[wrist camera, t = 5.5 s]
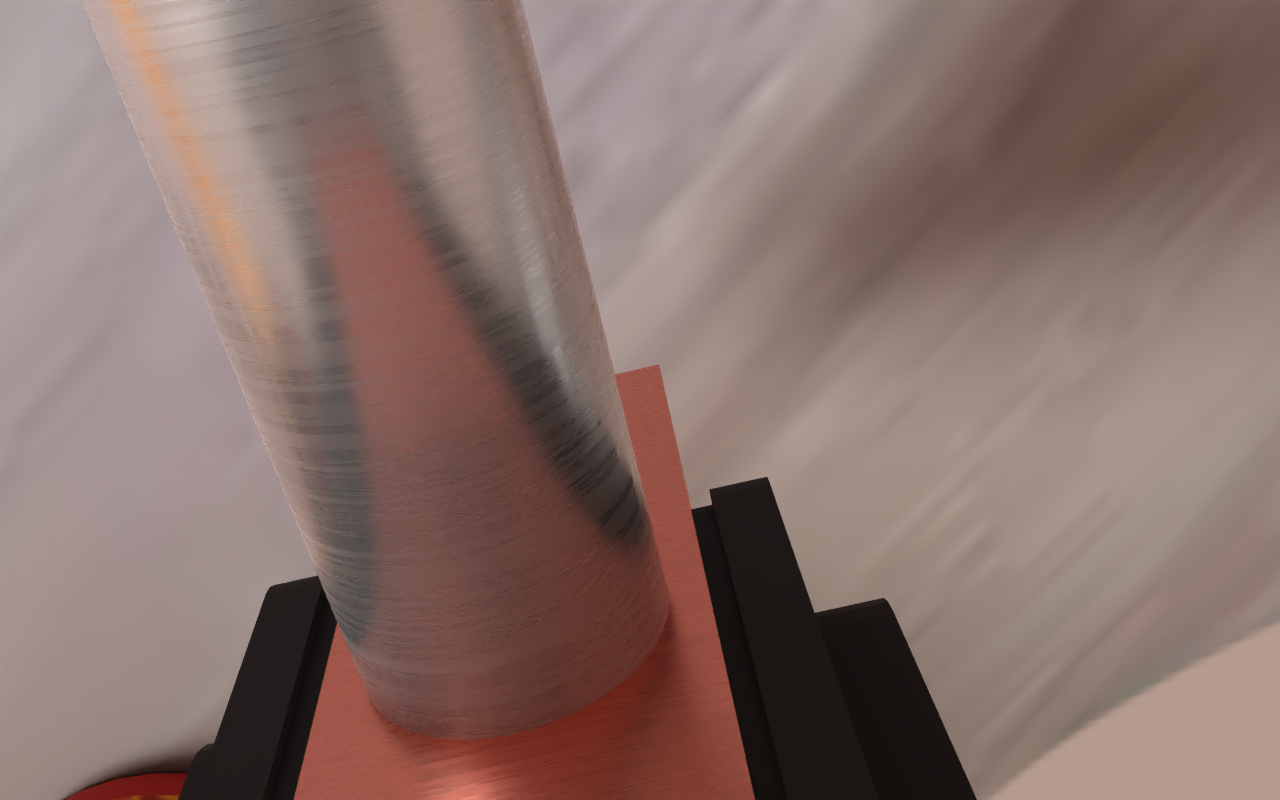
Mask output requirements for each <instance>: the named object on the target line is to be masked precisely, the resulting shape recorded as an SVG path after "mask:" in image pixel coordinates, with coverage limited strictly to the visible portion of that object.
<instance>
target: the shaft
mask: <svg viewBox="0 0 1280 800" xmlns="http://www.w3.org/2000/svg"><path fill="white" fill-rule="evenodd" d="M81 2H82V4H83V6H84V9H85V11H86V14H87V16H88V19H89V21H90V23H91V26H92V28H93V31H94V33H95V36H96V38H97V40H98V43H99V45H100V48H101V50H102V53H103V55H104V57H105V60H106V62H107V65H108V67H109V70H110V72H111V74H112V77H113V79H114V82H115V84H116V86H117V89H118V91H119V94H120V96H121V99H122V101H123V103H124V106H125V108H126V111H127V113H128V116H129V118H130V120H131V123H132V125H133V128H134V130H135V133H136V135H137V137H138V140H139V142H140V145H141V147H142V150H143V152H144V154H145V157H146V159H147V162H148V164H149V167H150V169H151V171H152V174H153V176H154V179H155V181H156V184H157V186H158V188H159V191H160V193H161V196H162V198H163V201H164V203H165V205H166V208H167V210H168V213H169V215H170V218H171V220H172V222H173V225H174V227H175V230H176V232H177V235H178V237H179V239H180V242H181V244H182V247H183V249H184V252H185V254H186V256H187V259H188V261H189V264H190V266H191V269H192V271H193V273H194V276H195V278H196V281H197V283H198V286H199V288H200V290H201V293H202V295H203V298H204V300H205V302H206V305H207V307H208V310H209V312H210V315H211V317H212V319H213V322H214V324H215V327H216V329H217V332H218V334H219V336H220V339H221V341H222V344H223V346H224V349H225V351H226V353H227V356H228V358H229V361H230V363H231V366H232V368H233V370H234V373H235V375H236V378H237V380H238V383H239V385H240V387H241V390H242V392H243V395H244V397H245V400H246V402H247V404H248V407H249V409H250V412H251V414H252V417H253V419H254V421H255V424H256V426H257V429H258V431H259V434H260V436H261V438H262V441H263V443H264V446H265V448H266V451H267V453H268V455H269V458H270V460H271V463H272V465H273V468H274V470H275V472H276V475H277V477H278V480H279V482H280V485H281V487H282V489H283V492H284V494H285V497H286V499H287V502H288V504H289V506H290V509H291V511H292V514H293V516H294V518H295V521H296V523H297V526H298V528H299V531H300V533H301V535H302V538H303V540H304V543H305V545H306V548H307V550H308V552H309V555H310V557H311V560H312V562H313V565H314V567H315V569H316V572H317V574H318V577H319V579H320V582H321V584H322V586H323V589H324V591H325V594H326V596H327V599H328V601H329V603H330V606H331V608H332V611H333V613H334V616H335V618H336V620H337V626H336V630H335V634H334V638H333V642H332V646H331V650H330V654H329V658H328V662H327V666H326V671H325V675H324V679H323V683H322V687H321V691H320V695H319V699H318V703H317V707H316V711H315V715H314V719H313V723H312V727H311V731H310V736H309V740H308V744H307V748H306V752H305V756H304V760H303V764H302V768H301V772H300V776H299V780H298V784H297V788H296V792H295V797H294V800H755V798H754V793H753V789H752V784H751V780H750V775H749V771H748V766H747V761H746V757H745V752H744V748H743V743H742V739H741V734H740V730H739V725H738V721H737V716H736V712H735V707H734V703H733V698H732V694H731V689H730V685H729V680H728V675H727V671H726V666H725V662H724V657H723V653H722V648H721V644H720V639H719V635H718V630H717V626H716V621H715V617H714V612H713V608H712V603H711V598H710V594H709V589H708V585H707V580H706V576H705V571H704V567H703V562H702V558H701V553H700V549H699V544H698V540H697V535H696V531H695V526H694V522H693V517H692V512H691V509H692V507H691V503H690V499H689V494H688V490H687V486H686V481H685V477H684V473H683V468H682V464H681V459H680V455H679V451H678V446H677V442H676V438H675V433H674V429H673V424H672V420H671V416H670V411H669V407H668V403H667V398H666V394H665V389H664V385H663V381H662V376H661V372H660V368H659V365H655V366H651V367H647V368H642V369H638V370H633V371H629V372H625V373H620V374H616V375H615V374H614V370H613V366H612V362H611V358H610V354H609V350H608V346H607V342H606V338H605V334H604V330H603V326H602V322H601V318H600V313H599V309H598V305H597V301H596V297H595V293H594V289H593V285H592V281H591V277H590V273H589V269H588V265H587V261H586V257H585V253H584V249H583V245H582V241H581V237H580V233H579V229H578V225H577V221H576V217H575V213H574V209H573V205H572V201H571V197H570V193H569V189H568V185H567V181H566V177H565V173H564V169H563V165H562V161H561V157H560V153H559V149H558V145H557V141H556V137H555V133H554V129H553V125H552V121H551V117H550V113H549V108H548V104H547V100H546V96H545V92H544V88H543V84H542V80H541V76H540V72H539V68H538V64H537V60H536V56H535V52H534V48H533V44H532V40H531V36H530V32H529V28H528V24H527V20H526V16H525V12H524V8H523V4H522V0H81Z"/></svg>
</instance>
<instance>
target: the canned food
mask: <svg viewBox="0 0 1280 800" xmlns="http://www.w3.org/2000/svg"><path fill="white" fill-rule="evenodd" d="M186 776H187V773H152V774H146V775H140V776H133V777H127V778H120V779H115V780H112V781H109V782H106V783H103V784H100V785H97V786H94V787H91V788H88V789H85V790H82V791H80V792H78V793H76V794H74V795H73V796H71V797H69V798H67V799H65V800H178V798H179V796H180V793H181V790H182V787H183V784H184V782H185V779H186Z"/></svg>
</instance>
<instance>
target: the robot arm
mask: <svg viewBox="0 0 1280 800" xmlns="http://www.w3.org/2000/svg"><path fill="white" fill-rule="evenodd" d="M710 495H711V500H712V505H710V506H705V507H700V508H696V509H691V512H692V517H693V522H694V526H695V531H696V535H697V540H698V544H699V549H700V553H701V558H702V562H703V567H704V571H705V576H706V580H707V585H708V589H709V594H710V598H711V603H712V608H713V612H714V617H715V621H716V626H717V630H718V635H719V639H720V644H721V648H722V653H723V657H724V662H725V666H726V671H727V675H728V680H729V685H730V689H731V694H732V698H733V703H734V707H735V712H736V716H737V721H738V725H739V730H740V734H741V739H742V743H743V748H744V752H745V757H746V761H747V766H748V771H749V775H750V780H751V784H752V789H753V793H754V798H755V800H977V799H976V797H975V795H974V792H973V790H972V788H971V786H970V783H969V781H968V779H967V777H966V774H965V772H964V770H963V768H962V765H961V763H960V761H959V759H958V756H957V754H956V752H955V750H954V747H953V745H952V743H951V740H950V738H949V736H948V734H947V731H946V729H945V727H944V725H943V722H942V720H941V718H940V716H939V713H938V711H937V709H936V707H935V704H934V702H933V700H932V698H931V695H930V693H929V691H928V689H927V686H926V684H925V682H924V680H923V677H922V675H921V673H920V671H919V668H918V666H917V664H916V662H915V659H914V657H913V655H912V653H911V650H910V648H909V646H908V644H907V641H906V639H905V637H904V635H903V632H902V630H901V628H900V626H899V623H898V621H897V619H896V617H895V614H894V612H893V610H892V608H891V606H890V605H889V603H888V601H887V600H886V599H884V598H882V599H877V600H872V601H868V602H863V603H858V604H854V605H849V606H845V607H840V608H835V609H831V610H826V611H822V612H817V613H814V610H813V607H812V604H811V601H810V598H809V596H808V593H807V590H806V587H805V584H804V581H803V578H802V575H801V572H800V569H799V567H798V564H797V561H796V558H795V555H794V552H793V549H792V546H791V543H790V540H789V538H788V535H787V532H786V529H785V526H784V523H783V520H782V517H781V514H780V511H779V509H778V506H777V503H776V500H775V497H774V494H773V491H772V488H771V485H770V483H769V480H768V478H767V477H764V478H759V479H755V480H750V481H746V482H741V483H737V484H732V485H727V486H723V487H718V488H714V489H710ZM336 626H337V620H336V618H335V616H334V613H333V611H332V608H331V606H330V603H329V601H328V599H327V596H326V594H325V591H324V589H323V586H322V584H321V582H320V579H319V577H318V576H314V577H309V578H305V579H300V580H296V581H291V582H287V583H282V584H278V585H274V586H272V587H270V588H269V589H268V591H267V593H266V595H265V598H264V601H263V604H262V607H261V610H260V613H259V615H258V618H257V621H256V624H255V627H254V630H253V633H252V636H251V639H250V641H249V644H248V647H247V650H246V653H245V656H244V659H243V662H242V665H241V667H240V670H239V673H238V676H237V679H236V682H235V685H234V688H233V691H232V693H231V696H230V699H229V702H228V705H227V708H226V711H225V714H224V717H223V719H222V722H221V725H220V728H219V731H218V734H217V737H216V740H215V743H214V744H209V745H206V746H205V747H203V748H202V749H201V750H199V751H198V752H197V754H196V756H195V758H194V760H193V761H192V763H191V765H190V768H189V771H188V773H187V776H186V779H185V782H184V784H183V787H182V790H181V793H180V796H179V798H178V800H294V797H295V792H296V788H297V784H298V780H299V776H300V772H301V768H302V764H303V760H304V756H305V752H306V748H307V744H308V740H309V736H310V731H311V727H312V723H313V719H314V715H315V711H316V707H317V703H318V699H319V695H320V691H321V687H322V683H323V679H324V675H325V671H326V666H327V662H328V658H329V654H330V650H331V646H332V642H333V638H334V634H335V630H336Z"/></svg>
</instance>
